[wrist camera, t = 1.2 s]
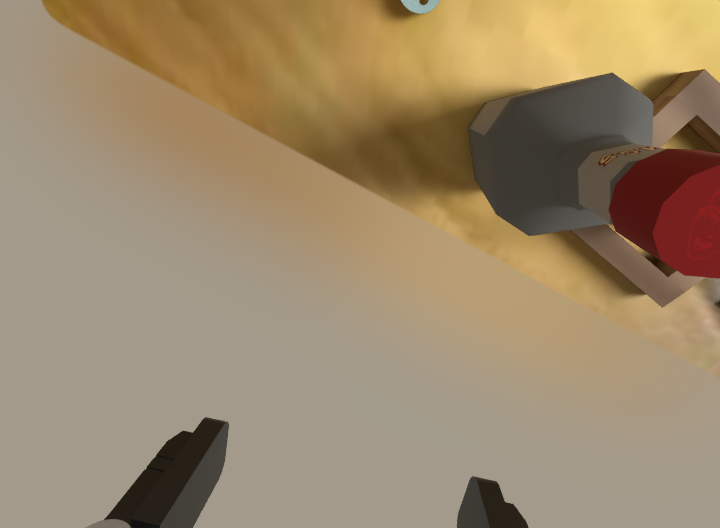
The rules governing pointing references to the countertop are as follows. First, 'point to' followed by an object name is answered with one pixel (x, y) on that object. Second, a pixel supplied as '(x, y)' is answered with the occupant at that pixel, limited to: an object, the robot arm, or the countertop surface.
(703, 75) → the pocket holder
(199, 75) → the countertop surface
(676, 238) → the liquor
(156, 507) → the robot arm
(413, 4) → the pacifier
